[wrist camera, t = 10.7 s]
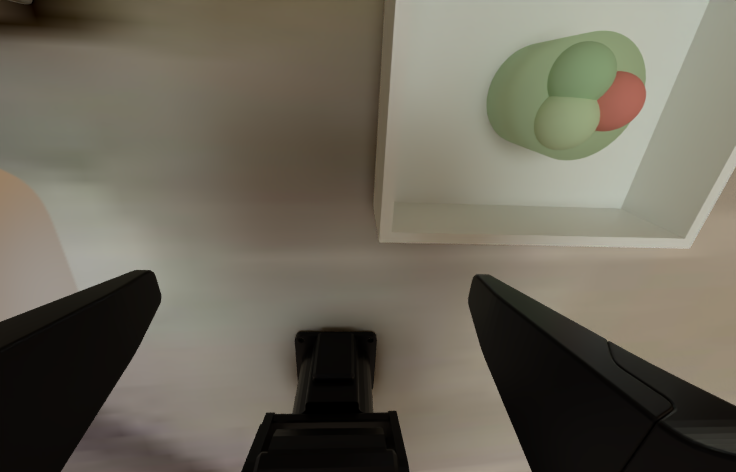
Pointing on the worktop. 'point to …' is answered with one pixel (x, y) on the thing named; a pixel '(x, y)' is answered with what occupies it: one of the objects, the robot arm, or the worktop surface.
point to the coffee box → (22, 1)
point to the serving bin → (534, 170)
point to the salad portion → (568, 94)
